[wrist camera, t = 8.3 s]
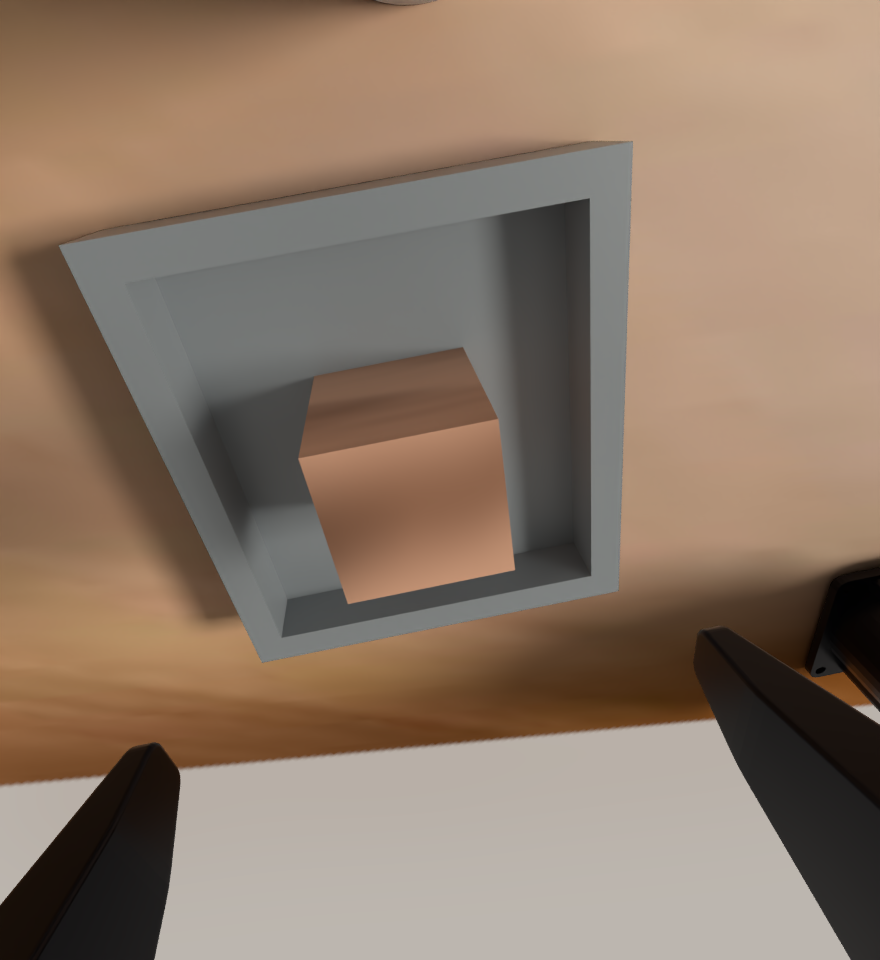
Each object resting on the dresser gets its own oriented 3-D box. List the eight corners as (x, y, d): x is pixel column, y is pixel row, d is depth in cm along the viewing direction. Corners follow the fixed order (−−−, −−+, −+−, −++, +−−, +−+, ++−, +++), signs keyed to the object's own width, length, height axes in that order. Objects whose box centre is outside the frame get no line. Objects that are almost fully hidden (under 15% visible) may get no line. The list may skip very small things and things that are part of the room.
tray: (593, 547, 22) (618, 590, 20) (271, 611, 22) (261, 662, 20) (593, 140, 15) (633, 141, 13) (103, 229, 14) (58, 245, 12)
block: (480, 473, 19) (515, 570, 15) (350, 499, 19) (348, 604, 15) (462, 347, 17) (498, 419, 12) (313, 376, 16) (298, 458, 12)
